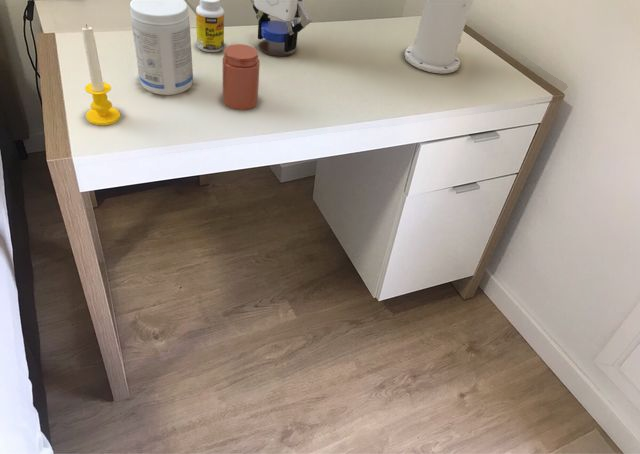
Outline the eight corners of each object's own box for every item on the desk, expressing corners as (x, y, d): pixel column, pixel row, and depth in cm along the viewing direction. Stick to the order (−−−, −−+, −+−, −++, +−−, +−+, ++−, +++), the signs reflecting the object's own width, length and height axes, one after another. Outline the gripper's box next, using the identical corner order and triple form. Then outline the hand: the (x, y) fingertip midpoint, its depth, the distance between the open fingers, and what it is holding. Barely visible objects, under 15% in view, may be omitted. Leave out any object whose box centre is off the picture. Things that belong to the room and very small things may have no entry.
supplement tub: (185, 69, 100) (181, -9, 90) (199, 93, 94) (196, 13, 84) (134, 74, 96) (123, -7, 86) (145, 99, 91) (135, 16, 81)
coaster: (275, 37, 116) (275, 35, 116) (302, 50, 113) (302, 48, 113) (250, 47, 111) (250, 44, 111) (278, 60, 108) (279, 58, 108)
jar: (239, 88, 98) (240, 39, 91) (264, 102, 95) (267, 52, 89) (215, 99, 94) (214, 49, 87) (240, 114, 91) (242, 63, 85)
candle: (83, 111, 85) (62, 18, 75) (115, 106, 88) (100, 15, 77) (91, 128, 82) (71, 33, 72) (124, 122, 85) (109, 29, 74)
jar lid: (275, 26, 113) (276, 17, 112) (299, 37, 111) (300, 28, 110) (254, 33, 109) (254, 25, 108) (278, 45, 106) (279, 36, 105)
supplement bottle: (203, 55, 105) (202, 4, 98) (192, 43, 109) (190, -7, 102) (228, 51, 108) (229, 2, 101) (217, 40, 111) (216, -9, 104)
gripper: (237, -56, 100) (235, 34, 112) (306, -28, 94) (296, 63, 106) (262, -61, 105) (258, 25, 117) (330, -35, 98) (318, 53, 110)
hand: (276, 43), depth 111 cm, fingers closed on jar lid, 6 cm apart
